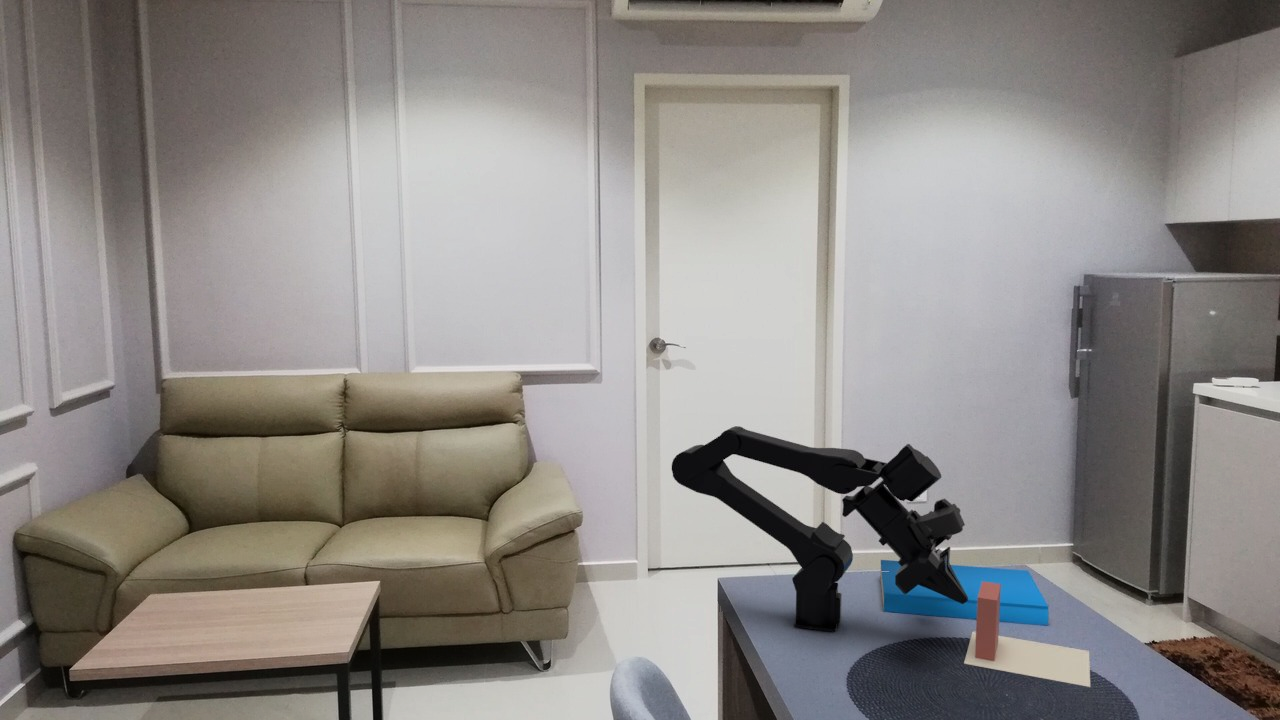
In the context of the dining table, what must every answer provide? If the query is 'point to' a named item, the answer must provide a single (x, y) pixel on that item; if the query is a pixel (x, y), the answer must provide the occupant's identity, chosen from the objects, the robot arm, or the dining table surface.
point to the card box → (987, 621)
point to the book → (969, 595)
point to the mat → (1036, 660)
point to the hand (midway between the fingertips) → (965, 601)
